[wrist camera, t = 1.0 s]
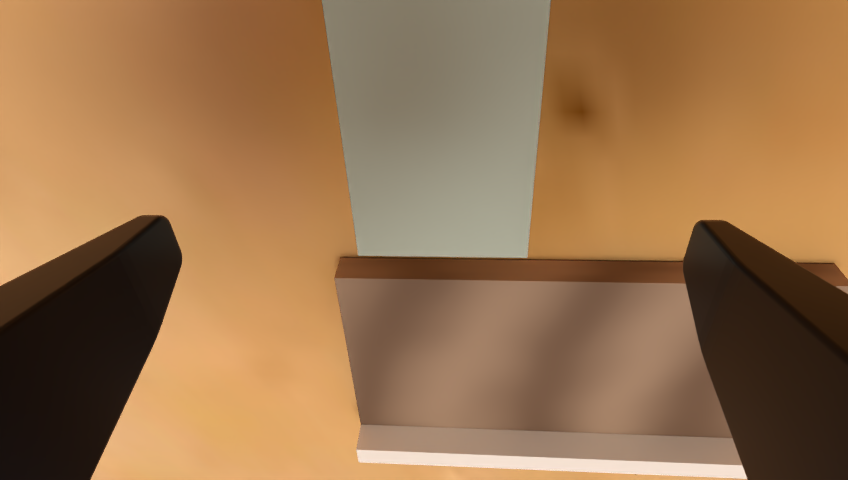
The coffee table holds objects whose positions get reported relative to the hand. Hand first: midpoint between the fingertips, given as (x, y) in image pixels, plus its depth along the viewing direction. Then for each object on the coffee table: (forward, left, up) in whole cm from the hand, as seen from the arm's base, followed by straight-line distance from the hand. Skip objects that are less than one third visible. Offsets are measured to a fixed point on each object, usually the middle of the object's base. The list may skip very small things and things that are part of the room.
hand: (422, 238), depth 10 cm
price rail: (-5, +17, -9) cm, 20 cm away
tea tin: (0, 0, -9) cm, 9 cm away
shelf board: (-5, +13, -9) cm, 16 cm away
